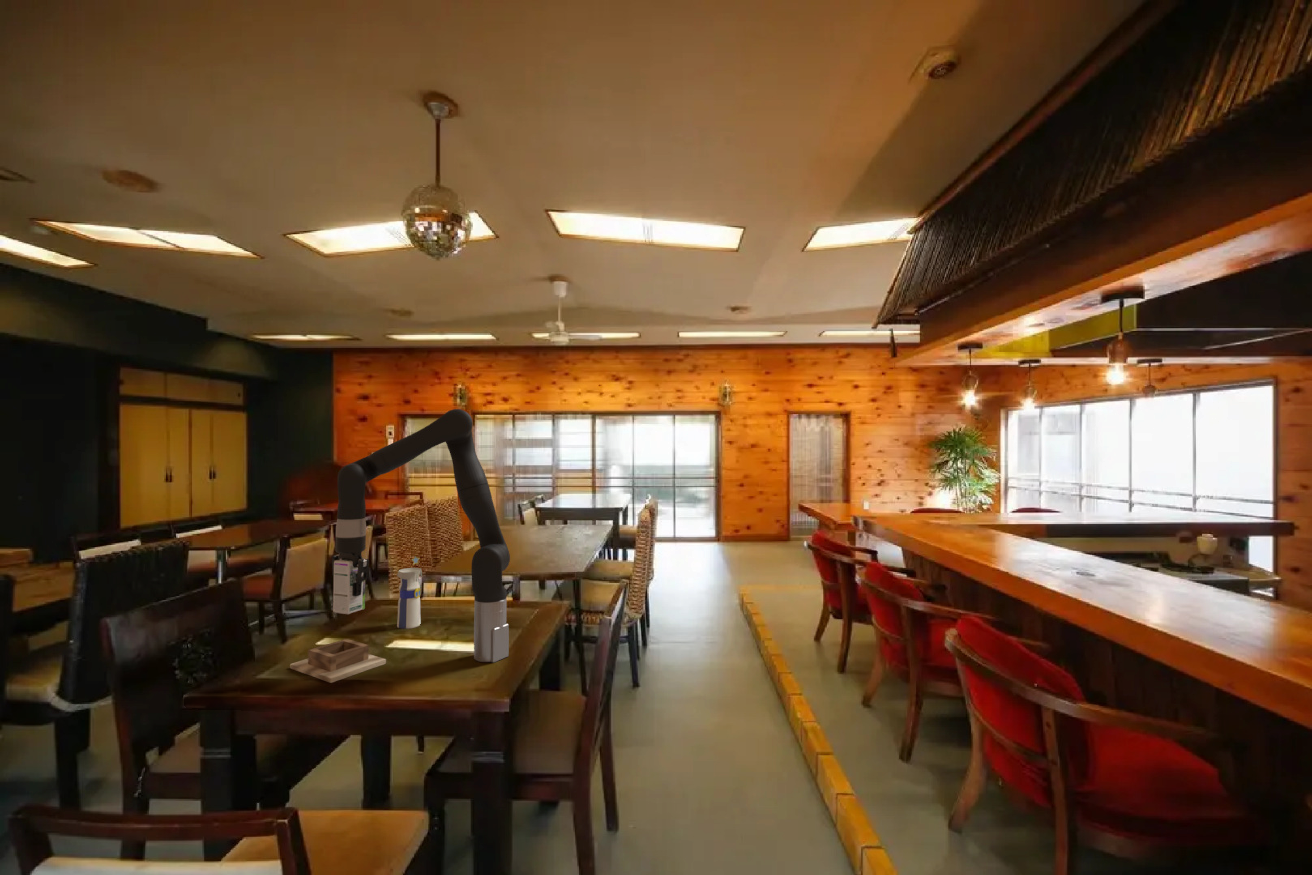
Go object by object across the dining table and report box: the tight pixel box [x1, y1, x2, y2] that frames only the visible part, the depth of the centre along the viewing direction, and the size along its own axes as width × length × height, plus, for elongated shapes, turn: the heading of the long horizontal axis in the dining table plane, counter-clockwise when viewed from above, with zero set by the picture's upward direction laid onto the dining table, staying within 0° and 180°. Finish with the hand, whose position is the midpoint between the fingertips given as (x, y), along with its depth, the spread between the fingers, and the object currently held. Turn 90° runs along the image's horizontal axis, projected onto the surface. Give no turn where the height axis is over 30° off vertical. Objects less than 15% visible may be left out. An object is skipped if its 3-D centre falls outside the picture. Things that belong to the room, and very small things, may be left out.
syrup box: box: [332, 557, 366, 615], centre depth 160 cm, size 6×6×14 cm
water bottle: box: [396, 555, 423, 629], centre depth 201 cm, size 8×9×25 cm
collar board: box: [289, 638, 387, 684], centre depth 163 cm, size 20×16×5 cm
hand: (349, 593), depth 160 cm, fingers closed on syrup box, 6 cm apart
